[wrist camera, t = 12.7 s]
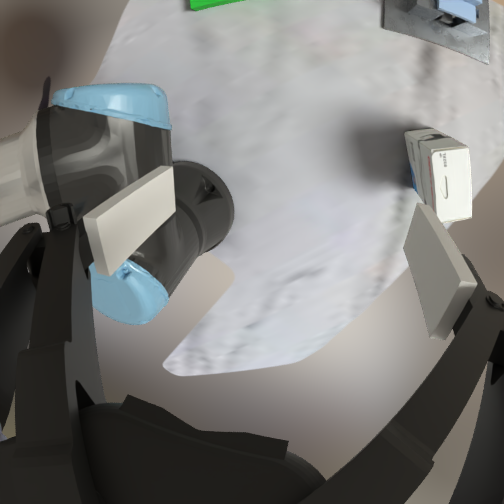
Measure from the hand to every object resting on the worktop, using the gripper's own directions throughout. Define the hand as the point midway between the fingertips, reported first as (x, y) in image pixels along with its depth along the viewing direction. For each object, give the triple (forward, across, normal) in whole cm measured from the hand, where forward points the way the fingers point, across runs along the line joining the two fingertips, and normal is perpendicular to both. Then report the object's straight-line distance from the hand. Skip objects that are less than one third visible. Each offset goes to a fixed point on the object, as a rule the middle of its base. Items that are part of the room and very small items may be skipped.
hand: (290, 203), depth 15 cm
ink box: (+27, +16, -1) cm, 31 cm away
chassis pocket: (+27, +16, +26) cm, 41 cm away
